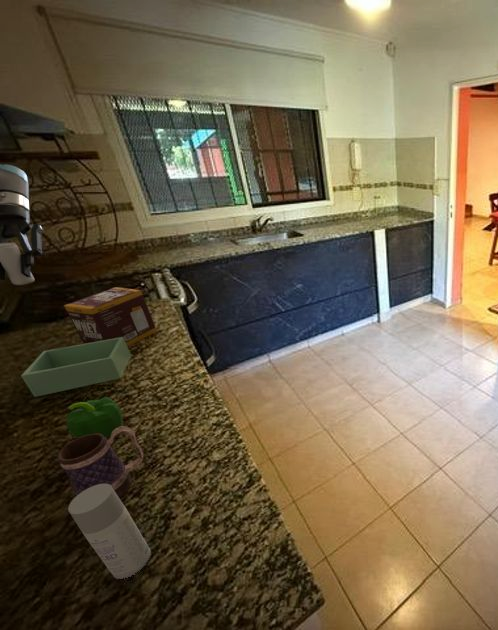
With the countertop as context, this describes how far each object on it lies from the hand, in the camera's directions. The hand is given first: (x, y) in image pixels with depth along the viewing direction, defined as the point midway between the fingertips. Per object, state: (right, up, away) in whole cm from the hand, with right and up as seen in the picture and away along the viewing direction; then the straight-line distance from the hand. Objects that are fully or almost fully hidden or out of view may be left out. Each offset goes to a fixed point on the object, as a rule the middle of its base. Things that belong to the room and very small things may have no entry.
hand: (13, 276), depth 101 cm
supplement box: (+24, -20, +10) cm, 33 cm away
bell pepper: (+52, -38, -26) cm, 69 cm away
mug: (+65, -44, -37) cm, 87 cm away
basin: (+28, -28, -6) cm, 40 cm away
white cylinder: (-2, -2, +5) cm, 5 cm away
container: (+77, -49, -49) cm, 104 cm away
